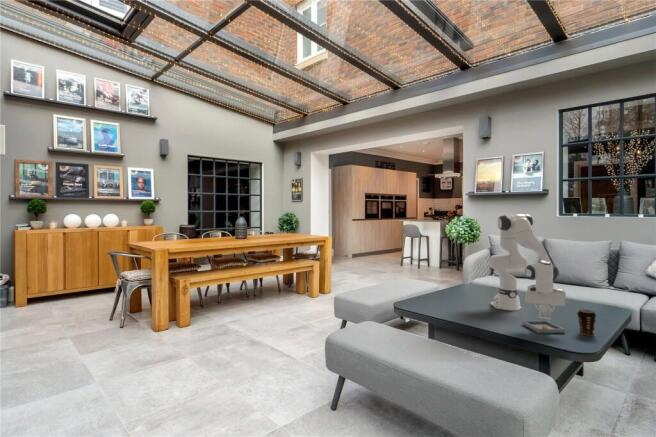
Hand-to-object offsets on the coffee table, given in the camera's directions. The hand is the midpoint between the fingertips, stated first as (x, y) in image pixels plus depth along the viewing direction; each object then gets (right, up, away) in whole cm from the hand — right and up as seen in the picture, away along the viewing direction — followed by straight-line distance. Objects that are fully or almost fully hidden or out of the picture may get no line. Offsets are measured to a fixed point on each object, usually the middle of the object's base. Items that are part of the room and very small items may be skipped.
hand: (544, 311), depth 205 cm
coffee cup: (+19, -11, -8) cm, 23 cm away
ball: (-3, -8, -5) cm, 10 cm away
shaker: (0, -4, 0) cm, 4 cm away
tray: (-1, -11, +1) cm, 11 cm away
